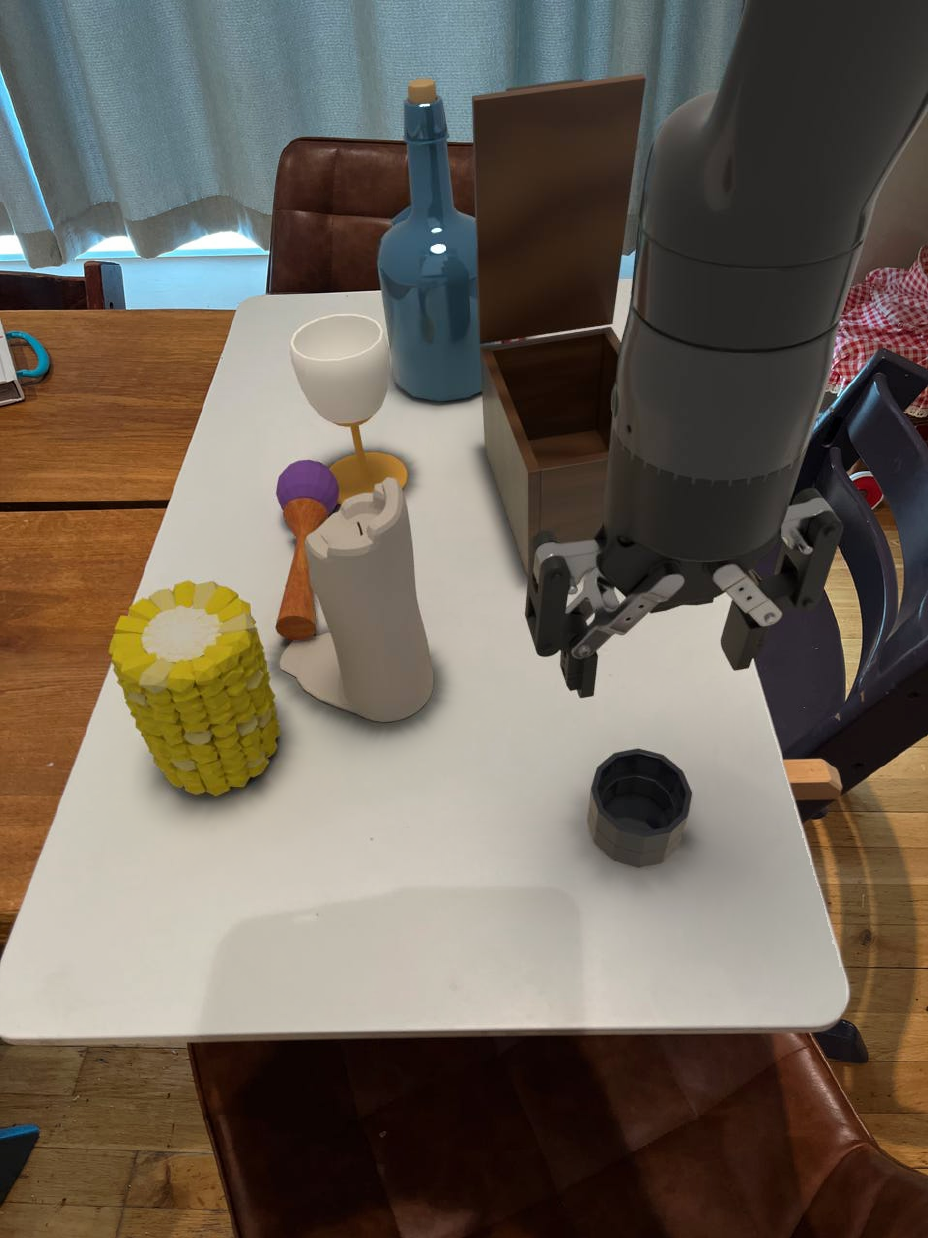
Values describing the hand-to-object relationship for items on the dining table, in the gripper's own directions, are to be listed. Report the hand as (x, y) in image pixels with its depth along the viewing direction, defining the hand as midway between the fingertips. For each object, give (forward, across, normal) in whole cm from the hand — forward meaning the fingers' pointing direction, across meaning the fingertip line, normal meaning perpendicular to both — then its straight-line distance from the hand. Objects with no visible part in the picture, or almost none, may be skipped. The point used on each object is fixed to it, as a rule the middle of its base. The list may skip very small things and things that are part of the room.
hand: (658, 671), depth 42 cm
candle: (+17, -18, +17) cm, 30 cm away
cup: (+16, -15, +42) cm, 48 cm away
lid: (-6, +5, +42) cm, 43 cm away
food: (+17, -28, +12) cm, 35 cm away
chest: (+16, +5, +34) cm, 38 cm away
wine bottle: (+16, -3, +60) cm, 62 cm away
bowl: (+16, 0, -1) cm, 16 cm away
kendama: (+16, -21, +31) cm, 41 cm away
